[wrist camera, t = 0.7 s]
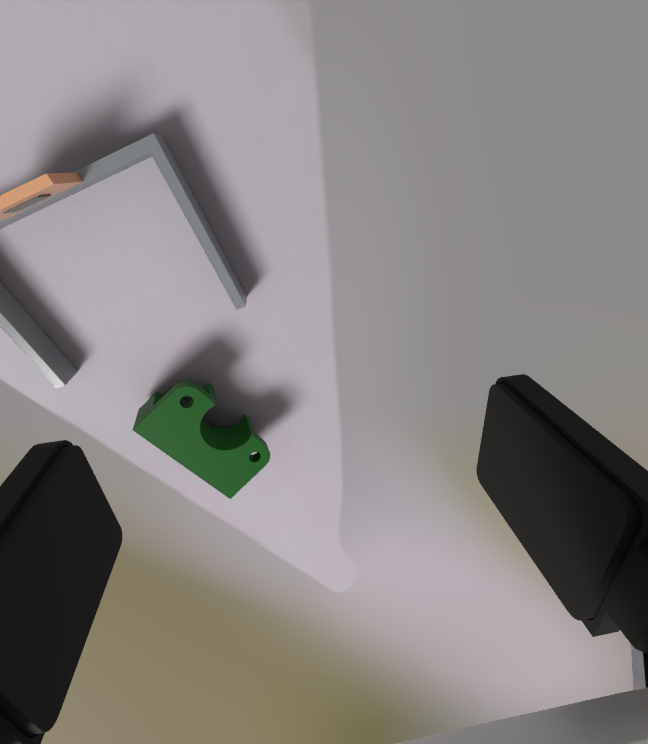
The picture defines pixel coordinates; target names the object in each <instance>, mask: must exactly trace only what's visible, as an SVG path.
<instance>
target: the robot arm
mask: <svg viewBox="0 0 648 744" xmlns="http://www.w3.org/2000/svg"><path fill="white" fill-rule="evenodd" d="M477 476H478V480H479V482H480V484H481V485H482V487H483V488H484V490H485V491H486V493H487V494H488V495H489V497H490V498H491V500H492V501H493V503H494V504H495V505H496V507H497V509H498V510H499V512H500V513H501V514H502V516H503V517H504V519H505V520H506V522H507V523H508V525H509V526H510V528H511V529H512V531H513V532H514V534H515V535H516V536H517V538H518V539H519V541H520V542H521V543H522V545H523V547H524V548H525V550H526V551H527V552H528V554H529V555H530V557H531V558H532V560H533V561H534V563H535V564H536V566H537V567H538V569H539V570H540V571H541V573H542V574H543V576H544V577H545V578H546V580H547V582H548V583H549V585H550V586H551V587H552V589H553V590H554V592H555V593H556V595H557V596H558V598H559V599H560V600H561V602H562V604H563V605H564V606H565V608H566V609H567V611H568V612H569V613H570V615H572V617H574V618H575V619H577V620H581V621H582V622H583V623H584V625H585V626H586V628H587V629H588V631H589V632H590V633H591V635H592V636H593V637H594V636H599V635H604V634H609V633H613V632H618V631H619V630H621V631H622V632H623V634H624V635H625V637H626V638H627V639H628V640H629V642H630V643H631V653H632V671H633V688H634V690H633V691H628V692H623V693H618V694H614V695H610V696H605V697H601V698H596V699H591V700H587V701H582V702H578V703H574V704H569V705H565V706H560V707H556V708H551V709H547V710H542V711H538V712H533V713H529V714H524V715H520V716H515V717H511V718H506V719H502V720H497V721H493V722H488V723H484V724H480V725H475V726H471V727H466V728H462V729H458V730H453V731H448V732H444V733H440V734H435V735H431V736H426V737H422V738H418V739H414V740H409V741H405V742H400V743H396V744H648V471H647V470H646V469H644V468H643V467H642V466H641V465H639V464H638V463H637V462H636V461H634V460H633V459H632V458H631V457H629V456H628V455H627V454H626V453H624V452H623V451H622V450H621V449H619V448H618V447H617V446H616V445H614V444H613V443H611V442H610V441H609V440H608V439H607V438H605V437H604V436H603V435H602V434H600V433H599V432H598V431H597V430H595V429H594V428H592V426H590V425H589V424H588V423H587V422H585V421H584V420H583V419H582V418H580V417H579V416H578V415H577V414H575V413H574V412H573V411H572V410H570V409H569V408H568V407H567V406H565V405H564V404H563V403H562V402H560V401H559V400H558V399H557V398H555V397H554V396H553V395H551V394H550V393H549V392H548V391H546V390H545V389H544V388H543V387H541V386H540V385H539V384H538V383H536V382H535V381H534V380H533V379H531V378H530V377H529V376H527V375H523V374H521V375H514V376H508V377H501V378H499V379H498V380H497V381H496V384H495V385H492V386H491V388H490V390H489V396H488V402H487V408H486V415H485V420H484V427H483V433H482V439H481V445H480V451H479V457H478V463H477ZM121 543H122V530H121V527H120V525H119V523H118V521H117V519H116V517H115V515H114V513H113V511H112V509H111V507H110V505H109V503H108V501H107V499H106V497H105V495H104V493H103V491H102V489H101V487H100V485H99V483H98V481H97V479H96V477H95V475H94V473H93V471H92V469H91V467H90V465H89V463H88V461H87V459H86V457H85V455H84V453H83V451H82V449H81V448H80V447H79V446H73V445H72V443H71V442H69V441H66V440H63V441H56V442H49V443H42V444H37V445H34V446H33V447H32V448H31V449H30V450H29V451H28V453H27V454H26V455H25V456H24V458H23V459H22V460H21V461H20V462H19V464H18V465H17V466H16V467H15V469H14V470H13V471H12V473H11V474H10V475H9V476H8V477H7V479H6V480H5V481H4V482H3V484H2V485H1V486H0V744H41V741H42V739H43V736H44V733H45V732H47V731H49V730H50V729H51V728H52V727H53V725H54V724H55V722H56V720H57V718H58V716H59V713H60V710H61V708H62V705H63V702H64V700H65V697H66V694H67V691H68V689H69V686H70V683H71V680H72V677H73V675H74V672H75V669H76V667H77V664H78V661H79V658H80V656H81V653H82V650H83V647H84V645H85V642H86V639H87V637H88V634H89V631H90V628H91V626H92V623H93V620H94V618H95V615H96V612H97V609H98V607H99V604H100V601H101V598H102V596H103V593H104V590H105V587H106V585H107V582H108V579H109V576H110V574H111V571H112V568H113V566H114V563H115V560H116V557H117V555H118V552H119V549H120V546H121Z"/></svg>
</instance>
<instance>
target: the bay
mask: <svg viewBox="0 0 648 744" xmlns="http://www.w3.org/2000/svg"><path fill="white" fill-rule="evenodd" d="M150 157H153V158H154V160H155V162H156V164H157V166H158V167H159V169H160V171H161V173H162V175H163V177H164V178H165V180H166V182H167V184H168V186H169V187H170V189H171V191H172V193H173V195H174V197H175V198H176V200H177V202H178V204H179V206H180V207H181V209H182V211H183V213H184V215H185V217H186V218H187V220H188V222H189V224H190V226H191V227H192V229H193V231H194V233H195V235H196V237H197V238H198V240H199V242H200V244H201V246H202V248H203V249H204V251H205V253H206V255H207V257H208V258H209V260H210V262H211V264H212V266H213V268H214V269H215V271H216V273H217V275H218V277H219V278H220V280H221V282H222V284H223V286H224V288H225V289H226V291H227V293H228V295H229V297H230V298H231V300H232V302H233V304H234V306H235V308H236V309H239V308H242V307H244V306H246V299H247V296H246V294H245V292H244V290H243V288H242V286H241V284H240V283H239V281H238V279H237V277H236V275H235V273H234V271H233V269H232V267H231V265H230V263H229V262H228V260H227V258H226V256H225V254H224V252H223V250H222V248H221V246H220V244H219V243H218V241H217V239H216V237H215V235H214V233H213V231H212V229H211V227H210V225H209V223H208V222H207V220H206V218H205V216H204V214H203V212H202V210H201V208H200V206H199V204H198V203H197V201H196V199H195V197H194V195H193V193H192V191H191V189H190V187H189V185H188V183H187V182H186V180H185V178H184V176H183V174H182V172H181V170H180V168H179V166H178V164H177V163H176V161H175V159H174V157H173V155H172V153H171V151H170V149H169V147H168V145H167V143H166V142H165V140H164V138H163V136H161V135H158V134H154V133H153V134H151V135H149V136H147V137H145V138H143V139H141V140H139V141H137V142H134V143H132V144H130V145H128V146H126V147H124V148H122V149H120V150H118V151H116V152H114V153H112V154H110V155H107V156H105V157H103V158H101V159H99V160H97V161H95V162H93V163H91V164H89V165H87V166H85V167H83V168H81V169H78V170H76V171H74V172H72V173H46V174H44V175H42V176H40V177H38V178H36V179H33V180H31V181H29V182H27V183H25V184H23V185H21V186H19V187H17V188H15V189H13V190H11V191H9V192H7V193H5V194H2V195H0V229H1V228H3V227H5V226H7V225H9V224H11V223H13V222H16V221H18V220H20V219H22V218H24V217H26V216H28V215H30V214H32V213H34V212H36V211H39V210H41V209H43V208H45V207H47V206H49V205H51V204H53V203H55V202H57V201H60V200H62V199H64V198H66V197H68V196H70V195H72V194H74V193H76V192H78V191H80V190H83V189H85V188H87V187H89V186H91V185H93V184H95V183H97V182H99V181H101V180H103V179H106V178H108V177H110V176H112V175H114V174H116V173H118V172H120V171H122V170H124V169H126V168H129V167H131V166H133V165H135V164H137V163H139V162H141V161H143V160H145V159H147V158H150ZM0 327H1V328H2V329H3V330H4V332H5V333H6V334H7V335H8V336H9V337H10V338H11V339H12V340H13V341H14V342H15V344H16V345H17V346H18V347H19V348H20V349H21V350H22V351H23V352H24V353H25V354H26V356H27V357H28V358H29V359H30V360H31V361H32V362H33V363H34V364H35V365H36V366H37V368H38V369H39V370H40V371H41V372H42V373H43V374H44V375H45V376H46V377H47V378H48V380H49V381H50V382H51V383H52V384H53V385H54V386H55V387H56V388H60V387H62V386H64V385H66V384H67V383H68V381H69V380H70V379H71V378H72V377H73V376H74V375H75V374H76V373H77V372H78V371H77V370H76V368H75V367H74V366H73V365H72V364H71V363H70V361H69V360H68V359H67V358H66V357H65V356H64V354H63V353H62V352H61V351H60V350H59V349H58V347H57V346H56V345H55V344H54V343H53V342H52V340H51V339H50V338H49V337H48V336H47V335H46V333H45V332H44V331H43V330H42V329H41V328H40V326H39V325H38V324H37V323H36V322H35V321H34V319H33V318H32V317H31V316H30V315H29V314H28V312H27V311H26V310H25V309H24V308H23V307H22V305H21V304H20V303H19V302H18V301H17V300H16V298H15V297H14V296H13V295H12V294H11V293H10V291H9V290H8V289H7V288H6V287H5V286H4V284H3V283H2V282H1V281H0Z"/></svg>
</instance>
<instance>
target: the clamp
mask: <svg viewBox="0 0 648 744" xmlns="http://www.w3.org/2000/svg"><path fill="white" fill-rule="evenodd" d="M184 396H190V397H192V399H191V400H190V401H189V402H184V401H182V400H181V398H182V397H184ZM215 405H216V402H215V396H214V390H213V387H212V386H211V385H210V384H207V385H206V386H205V387H204V388H201V387H200V386H199V385H198V384H196V383H194V382H191V381H183V382H180V383H178V384H176V385H175V386H174V387H173V388H172V389H170V390H169V391H168V392H167V393H166V394H165V395H163V394H160V393H156V394H155V395H154V396H153V397H151V398H150V399H149V400H148V401H147V402H146V403H145V404H144V405H143V406H142V407H141V408H140V409H139V411H138V414H137V417H136V421H135V424H134V428H133V431H135V432H136V433H138V434H139V435H140V436H142V437H143V438H145V439H146V440H147V441H149V442H150V443H152V444H153V445H155V446H156V447H157V448H159V449H160V450H162V451H163V452H164V453H166V454H167V455H169V456H170V457H172V458H173V459H174V460H176V461H177V462H179V463H180V464H181V465H183V466H184V467H186V468H187V469H189V470H190V471H191V472H193V473H194V474H196V475H197V476H198V477H200V478H201V479H203V480H204V481H206V482H207V483H208V484H210V485H211V486H213V487H214V488H215V489H217V490H218V491H220V492H221V493H223V494H224V495H225V496H227V497H228V498H230V499H231V498H232V497H233V496H234V495H235V494H236V493H237V492H238V491H239V490H240V489H241V488H242V487H243V486H244V485H246V484H247V483H248V482H249V481H250V480H251V479H252V478H253V477H254V476H255V475H256V474H257V473H258V472H259V471H260V470H261V469H262V468H263V467H264V466H265V465H266V464H267V463H268V462H269V459H270V452H269V449H268V447H267V444H266V442H265V441H264V440H263V439H262V438H260V437H259V436H258V435H257V434H256V433H255V432H254V431H253V428H252V425H251V423H250V420H249V418H248V417H247V416H246V415H245V416H244V417H243V418H242V419H241V421H239V422H238V423H237V424H235V425H233V426H231V427H227V428H216V427H213V426H210V425H208V424H207V423H206V422H205V421H204V420H203V419H202V418H203V416H204V414H205V413H206V412H207V411H208V410H209V409H210V408H212V407H213V406H215ZM253 452H257V453H256V454H254V455H250V454H251V453H253Z"/></svg>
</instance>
